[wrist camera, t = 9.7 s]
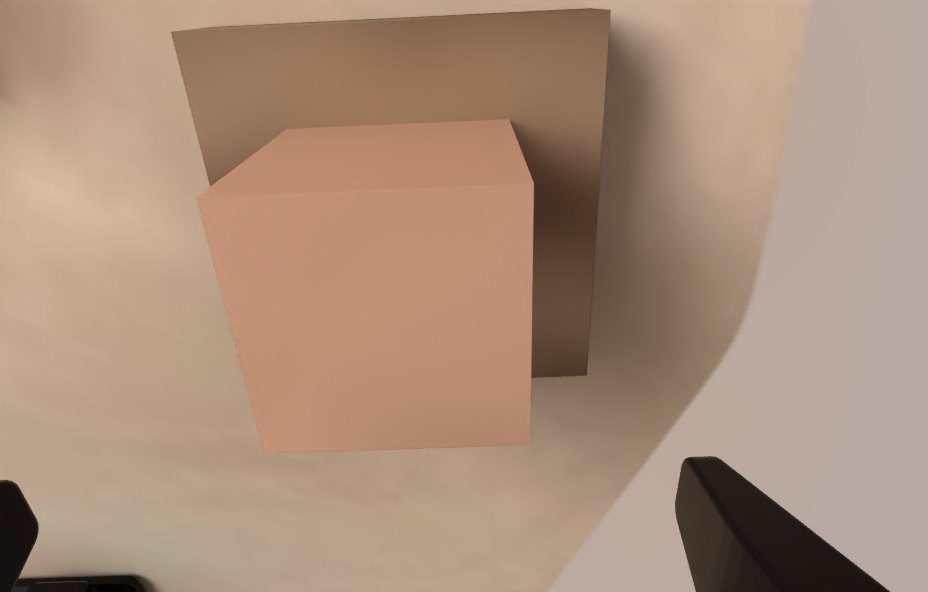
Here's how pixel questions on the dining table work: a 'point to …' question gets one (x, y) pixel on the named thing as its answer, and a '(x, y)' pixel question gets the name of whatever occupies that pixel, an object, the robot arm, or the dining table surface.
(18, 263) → the dining table surface
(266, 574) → the dining table surface
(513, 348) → the terracotta cube
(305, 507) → the dining table surface
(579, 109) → the walnut base
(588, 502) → the dining table surface
